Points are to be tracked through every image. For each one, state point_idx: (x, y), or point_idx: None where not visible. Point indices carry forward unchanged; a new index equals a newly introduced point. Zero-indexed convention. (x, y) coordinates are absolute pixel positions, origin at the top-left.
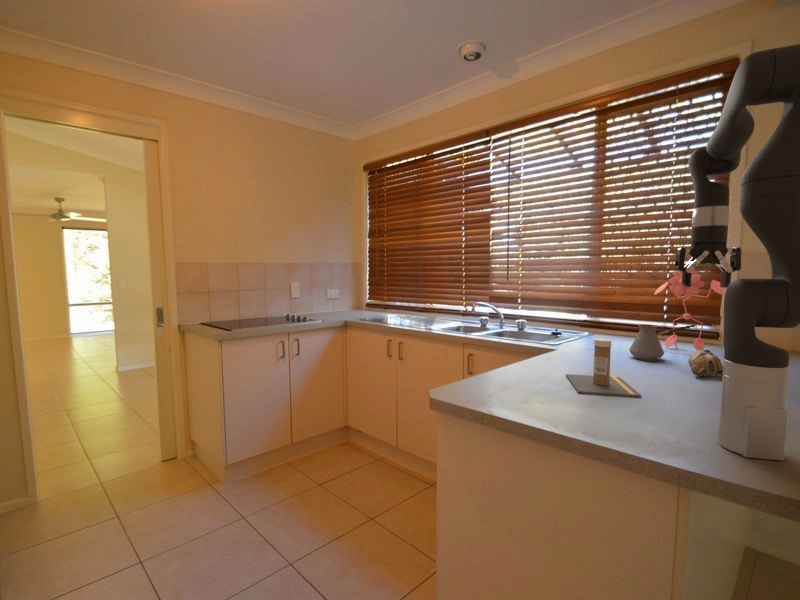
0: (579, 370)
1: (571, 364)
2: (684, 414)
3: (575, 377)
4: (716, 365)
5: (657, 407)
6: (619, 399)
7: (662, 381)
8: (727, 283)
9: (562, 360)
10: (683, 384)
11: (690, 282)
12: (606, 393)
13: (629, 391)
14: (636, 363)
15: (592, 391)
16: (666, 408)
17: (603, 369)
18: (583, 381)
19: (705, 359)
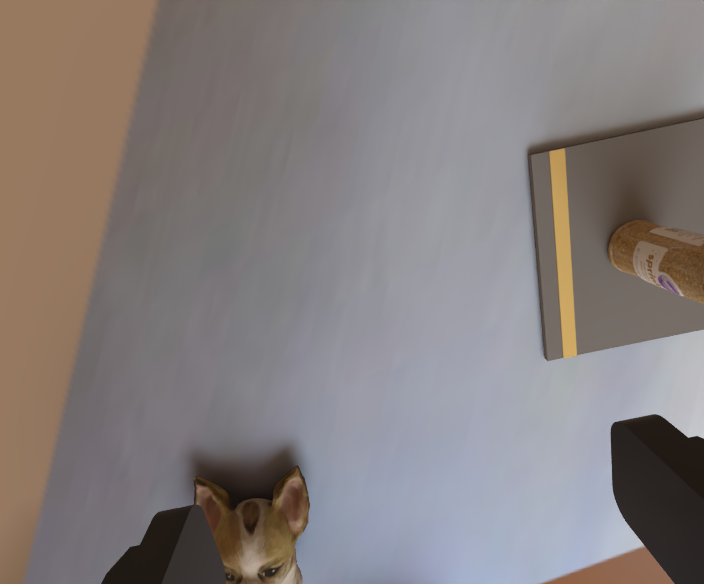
0: None
1: None
2: (438, 9)
3: None
4: (235, 520)
5: (503, 55)
6: (605, 98)
7: (413, 385)
8: (149, 544)
9: None
10: (356, 375)
11: (663, 449)
12: (641, 131)
13: (561, 182)
14: (444, 577)
15: (686, 130)
16: (477, 56)
17: (676, 230)
18: None
19: (265, 538)
